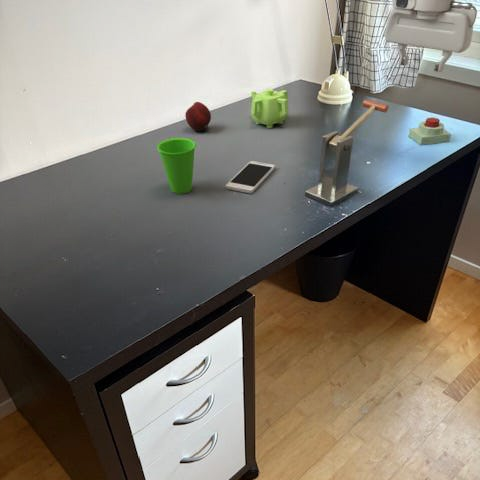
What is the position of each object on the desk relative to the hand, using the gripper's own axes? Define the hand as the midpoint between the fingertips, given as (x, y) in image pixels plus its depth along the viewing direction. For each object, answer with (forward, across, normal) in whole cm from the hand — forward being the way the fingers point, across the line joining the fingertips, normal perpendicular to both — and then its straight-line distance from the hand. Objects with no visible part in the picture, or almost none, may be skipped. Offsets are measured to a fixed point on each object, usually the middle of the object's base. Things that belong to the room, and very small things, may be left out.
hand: (420, 68), depth 115 cm
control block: (+22, +1, -15) cm, 26 cm away
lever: (+8, 0, +24) cm, 26 cm away
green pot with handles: (+21, +44, +7) cm, 49 cm away
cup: (+21, +29, +54) cm, 65 cm away
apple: (+21, +55, +26) cm, 65 cm away
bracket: (+21, 0, +31) cm, 38 cm away
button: (+18, +1, -15) cm, 23 cm away
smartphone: (+21, +20, +38) cm, 48 cm away
